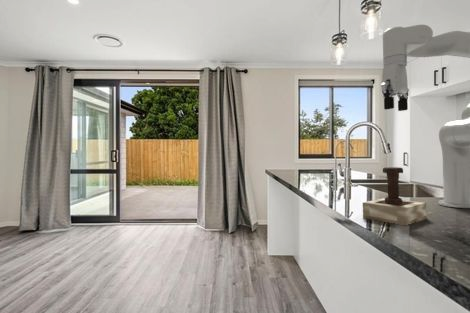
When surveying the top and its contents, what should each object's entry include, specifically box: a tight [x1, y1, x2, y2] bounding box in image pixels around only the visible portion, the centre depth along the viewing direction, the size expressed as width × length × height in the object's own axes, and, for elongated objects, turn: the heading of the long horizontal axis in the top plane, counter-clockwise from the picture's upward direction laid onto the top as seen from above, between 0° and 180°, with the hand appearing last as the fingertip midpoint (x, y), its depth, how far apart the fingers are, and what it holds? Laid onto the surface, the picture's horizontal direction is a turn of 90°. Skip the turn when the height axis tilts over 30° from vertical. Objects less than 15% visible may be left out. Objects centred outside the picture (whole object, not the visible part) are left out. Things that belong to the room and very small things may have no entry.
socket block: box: [362, 197, 428, 227], centre depth 90 cm, size 13×13×5 cm
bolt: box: [382, 166, 404, 206], centre depth 90 cm, size 6×5×15 cm
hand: (396, 109), depth 105 cm, fingers open, 9 cm apart
